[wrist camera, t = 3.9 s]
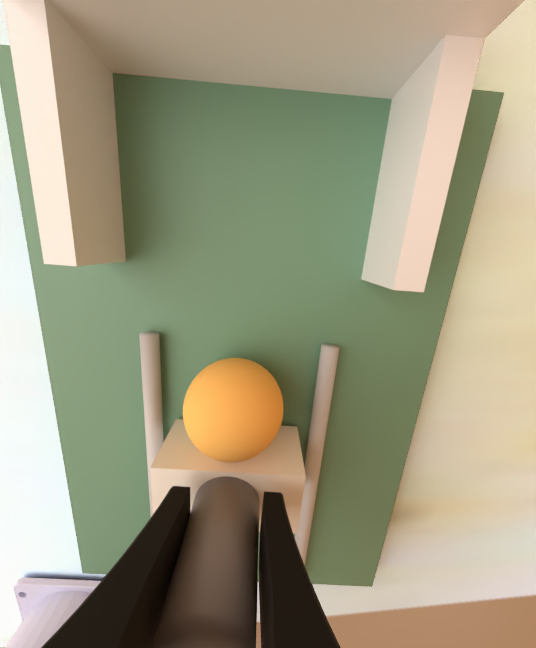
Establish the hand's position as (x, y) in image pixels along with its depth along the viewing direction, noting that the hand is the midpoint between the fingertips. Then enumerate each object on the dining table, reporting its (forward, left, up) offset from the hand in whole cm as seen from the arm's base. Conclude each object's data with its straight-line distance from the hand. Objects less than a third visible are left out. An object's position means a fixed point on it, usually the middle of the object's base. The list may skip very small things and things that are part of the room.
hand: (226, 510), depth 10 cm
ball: (+3, 0, -2) cm, 4 cm away
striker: (-1, 0, -4) cm, 4 cm away
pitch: (+2, 0, -5) cm, 6 cm away
